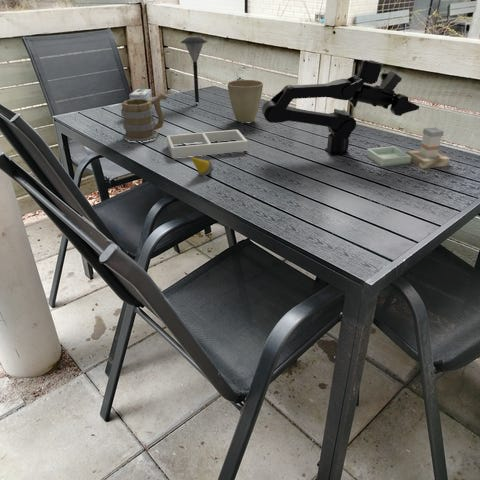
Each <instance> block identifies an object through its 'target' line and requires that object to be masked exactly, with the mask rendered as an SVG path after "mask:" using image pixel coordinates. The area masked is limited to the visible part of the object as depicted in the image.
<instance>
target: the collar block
mask: <svg viewBox="0 0 480 480" xmlns="http://www.w3.org/2000/svg"><path fill="white" fill-rule="evenodd" d="M406 153H407V154H408V155H410V156H412V157H411V161H410V163H412V164H414V165H416V166H417V167H420V168H421V169H422V170H423V169H431V168H432V169H433V168H440V167H447V166H449V165H450V161H451V157H449V156H446V155H444V154H443V153H441V152H439V151H438V154H437V157H436V158H428V159H425V158H424V157H422V156H420V155H419V153H420V149H416V150H407V151H406Z"/></svg>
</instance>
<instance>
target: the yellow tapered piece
mask: <svg viewBox="0 0 480 480" xmlns="http://www.w3.org/2000/svg"><path fill="white" fill-rule="evenodd" d="M189 159H190V160H191V161H192V163H193V165H194V166H195V168H196V170H197V173H198V175H200V176H201V177H206V176H207V175H209V174H212V173H211V172H213V171H214V168H213V162H212V161H210V160H209V159H201V158H198V157H190V158H189Z"/></svg>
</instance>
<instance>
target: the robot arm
mask: <svg viewBox="0 0 480 480" xmlns="http://www.w3.org/2000/svg"><path fill="white" fill-rule="evenodd" d="M383 66H384V63H382V62H379V61H375V60H372V59H370V60H367V59H362V60H361V62H360V68H359V71H358V73H357V75H356V74H354V75H352V76H350V77H348V78H339V79H335V80H332V81H330V82H325V83H316V84H313V83H311V84H295V85H293V84H286V85H285V86H284V87H283V88H282V89H281V90H280V91H279V92H277V93H276V94H275V95H274V96H273V97H272V98H271V99H269V100H267V101H266V102H265V103H263V105H262V106H261V112H262V113H261V114H263V117H264V120H266V121H267V122H268V123H271V124H272V123H273V124H275V123H276V124H277V123H278V124H279V123H281V124H282V123H284V122H285V123H286V122H295V123H301V124H308V125H313V126H314V125H315V126H322V127H327V129H328V132H329V133H330V134H329V133H328V134H327V135H328V136H327V146H326V147H325V148H324V150H325V151H326V153H328V154H330V155H331V156H338V155H339V156H340V155H341V156H342V155H349V153H350V152H349V151H348V150H349V146H350V145H349V143H350V139H349V138H350V136H351V134H352V133H353V132H354V130H355V129H356V127H357V121H356V119H355V118H354V117H353V116H352V115H351V114H350V113H349V112H348V111H347V110H346V109H342V110H341V109H337V108H334V109H333V112H330V113H326V112H320V111H312V110H306V109H299V108H293V107H289V105H290V103H291V102H292V101H293V100H294V99H295V100H296V99H297V100H299V99H312V98H314V99H316V98H318V99H319V98H329V99H330V98H331V99H334V100H340V101H342V100H343V101H348V102H349V103H350V105H351V106H352V107H353V108H356V107H357V104H358V102H359V103H364V104H367V105H371V106H373V107H374V108H375V107H380V108H383V109H385V110H388V108H389V106H390V108H389V110H390V113H392V114H393V115H395V116H398V117H401V116H402V115H405V114H407V113H411V112H414V111H418V110H419V109H420V106H419V105H418V104H416V103H413V102H411V101H409V97H408V96H407V95H405V94H401V93H398V94H397V93H395V89H396V87H397V86H398V84H399V83H400V82H401V81H402V79H403V78H402V77H401V76H400V75H398V74H397V73H396V72H394V71H393V70H389V71H388V72H382V73H381V71H382V68H383ZM379 77H380V79H381V81H380V82H381V83H380V84H379V85H378V84H377V85H374V86H373V84H376V83H377V82H378V79H379Z"/></svg>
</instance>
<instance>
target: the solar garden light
mask: <svg viewBox="0 0 480 480" xmlns="http://www.w3.org/2000/svg"><path fill="white" fill-rule="evenodd" d="M206 43H208V41H207V40H205V39H203V38H202V37H200V36H189V37H186V38H184V39H182V41H180V44H184V45H185V47H186V49H187V51H188V54H189V55H190V59H191V60H192V67H193V68H192V69H193V85H194V86H193V87H194V101H195V102H199V103H200V98H199V96H200V95H199V76H198V59H199V56H200V54H201V51H202V48H203V45H204V44H206ZM195 102H194V103H195Z"/></svg>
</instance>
